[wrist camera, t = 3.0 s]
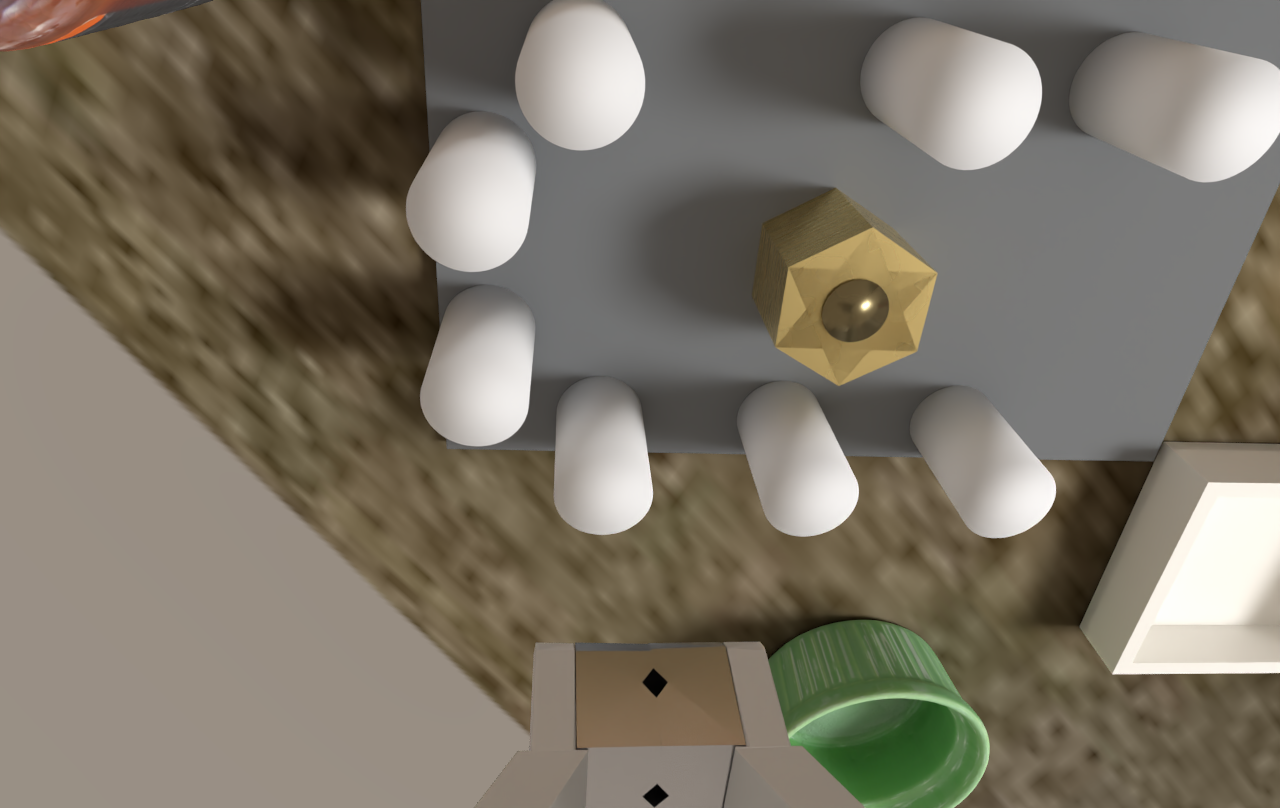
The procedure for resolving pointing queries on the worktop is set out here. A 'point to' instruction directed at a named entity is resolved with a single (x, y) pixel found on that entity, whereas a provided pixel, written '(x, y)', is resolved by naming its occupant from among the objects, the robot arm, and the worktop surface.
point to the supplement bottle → (73, 18)
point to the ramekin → (880, 715)
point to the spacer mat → (874, 178)
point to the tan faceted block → (840, 288)
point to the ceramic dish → (1195, 567)
